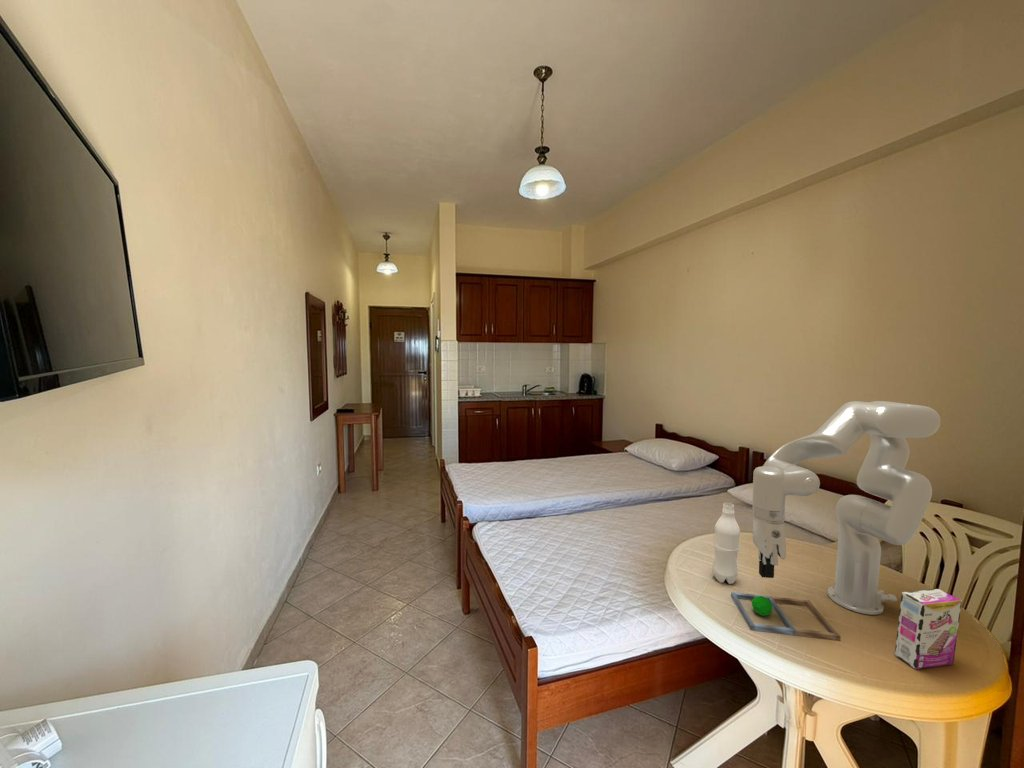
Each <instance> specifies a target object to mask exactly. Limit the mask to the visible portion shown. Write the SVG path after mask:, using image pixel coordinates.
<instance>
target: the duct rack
mask: <svg viewBox="0 0 1024 768" xmlns="http://www.w3.org/2000/svg"><path fill="white" fill-rule="evenodd" d="M757 596H763V597H765V598H767V599H769V601H770V602H771V603H772V609H774V612H775V613H776V614H777V615H778V617H779V618H780V619H781V621H782V623H783V624H784V625H785V626H786V627H785V626H777V625H769V624H768V625H767V624H761V623H760V624H759V623H754V622H753V620H752V619H751V617H750V615H749V614H748V612H747V610H746V609H745V607H744V606H743V603H742V602H741V600H748V601H752V600H753V598H754V597H757ZM730 597H731V599H732V601H733V602H734V604H735V605H736V607H737V609H738V611H739V612H740V614H741V617H743V619H744V621H745V623H746V624H747V626H748V628H749V630H750V631H755V632H756V631H757V632H764V633H765V632H766V633H774V634H779V635H780V634H781V635H790V636H796V637H797V636H799V637H806V638H813V639H814V638H816V639H823V640H832V641H838V642H841V638H842V636H841V635H840V634H839V632H838V631H837V630H836V629H835V628H834V627H833V626H832V624H831V623H829V621H828V620H827V619H826V618H825V617H824V616H823V614H822V613H821V612H820V611H819V610H818V609H817V608H816V607H815V605H814V604H813V603H812V602H811V600H807V599H799V598H790V597H780V596H779V597H778V596H772V595H771V596H770V595H761V594H752V593H742V592H733V591H732V592H730ZM778 604H784V605H793V606H795V605H796V606H801V607H802V606H803V607H804V606H805V607H807V608H808V609H809V610H810V611H811V613H812V614H813V615H814V617H815V618H816V619H817V620H818V621H819V623H820V624H821V625H822V626H823V627H824V628H825V629H826V630H827V631H819V630H818V631H817V630H811V629H803V628H802V629H801V628H795V627H794V624H793V623H792V622H791V621H790V620H789V618H788V616H787V615H786V614H785V613H784V611H783V610H782V609H781V607H780V606H779V605H778Z"/></svg>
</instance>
